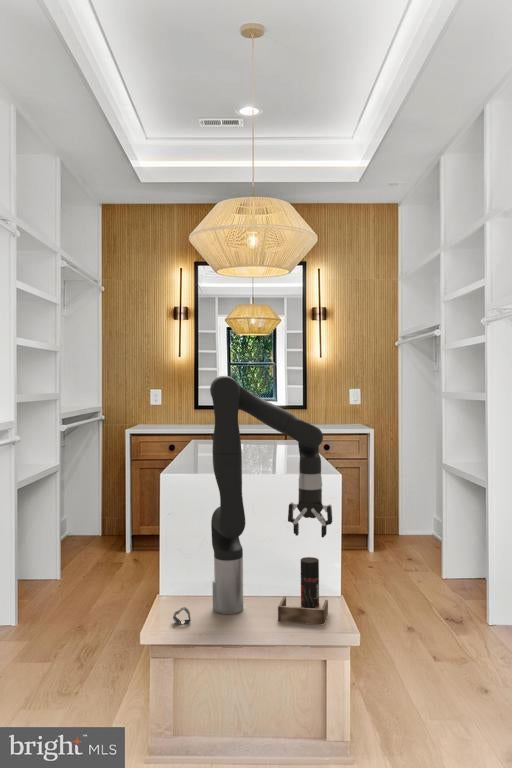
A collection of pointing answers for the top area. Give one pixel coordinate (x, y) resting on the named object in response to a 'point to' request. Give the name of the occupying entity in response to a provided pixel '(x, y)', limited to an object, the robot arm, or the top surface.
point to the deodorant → (309, 582)
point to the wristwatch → (178, 613)
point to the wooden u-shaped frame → (302, 613)
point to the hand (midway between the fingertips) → (310, 535)
